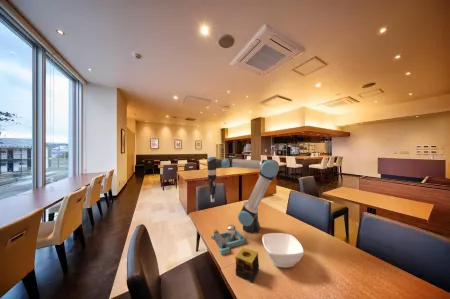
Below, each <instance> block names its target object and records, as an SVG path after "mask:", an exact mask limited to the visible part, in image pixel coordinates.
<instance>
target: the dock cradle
mask: <svg viewBox="0 0 450 299" xmlns="http://www.w3.org/2000/svg"><path fill="white" fill-rule="evenodd" d="M219 233H220V232H219ZM235 234H236V240H235V241H233V242H229V241H228V231H224V232H221V233H220V235H221V236H222V237H223V239H224V240H225V241H226V248H224V249H221V248H219V254H220V255H221V256H224V255H227V254H230V252H231V251H230V248H231V249H232V248H233V247H237V246H240V245H241V246H242V245H244V244H246V243H247V238H245V236H243V234H241V232H239V230H237V229H235ZM210 239H211V240H214V234H210Z"/></svg>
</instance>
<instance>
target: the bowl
mask: <svg viewBox="0 0 450 299" xmlns="http://www.w3.org/2000/svg"><path fill="white" fill-rule="evenodd" d="M261 241H262V245H263V247H264V249H265V251H266V254H267V256H268V257H269V258H270V260H271V261H272V263H273V264H274V266H275V267H278V268H293V267H294V266H295V265H296V264H297V263H298V262H300V261H301V259H302V257H303V256H304V253H305V252H304V251H305V250H304V248H303V246H302V244H301V242H300V241H299V240H298V239H297V238H296V237H295V236H293V235H292V234H290V233H281V232H271V233H264V234H263V235H262V238H261Z"/></svg>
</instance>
